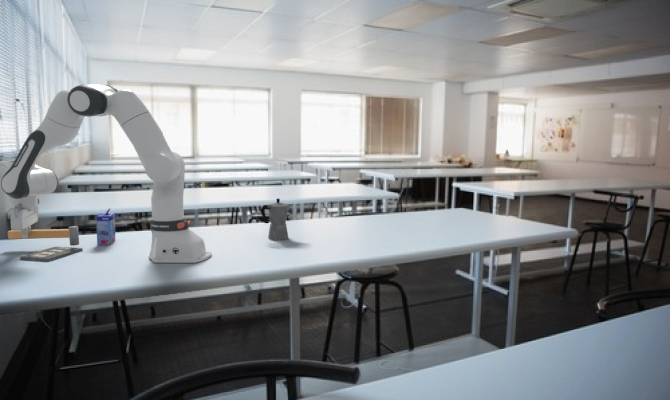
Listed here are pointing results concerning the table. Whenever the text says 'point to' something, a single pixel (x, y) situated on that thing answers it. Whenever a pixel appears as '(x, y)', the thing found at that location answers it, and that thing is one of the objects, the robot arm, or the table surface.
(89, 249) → the table surface
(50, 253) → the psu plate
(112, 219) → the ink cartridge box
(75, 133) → the robot arm
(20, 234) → the hammer
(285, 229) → the coffeepot
